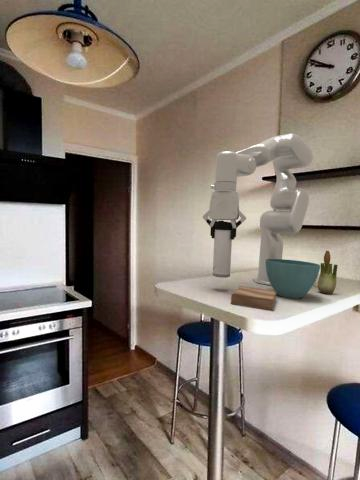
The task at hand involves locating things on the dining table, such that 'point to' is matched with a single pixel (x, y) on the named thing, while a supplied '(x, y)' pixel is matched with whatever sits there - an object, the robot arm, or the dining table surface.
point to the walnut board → (254, 298)
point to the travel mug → (222, 249)
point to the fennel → (325, 261)
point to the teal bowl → (291, 276)
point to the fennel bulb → (327, 278)
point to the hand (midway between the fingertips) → (222, 238)
